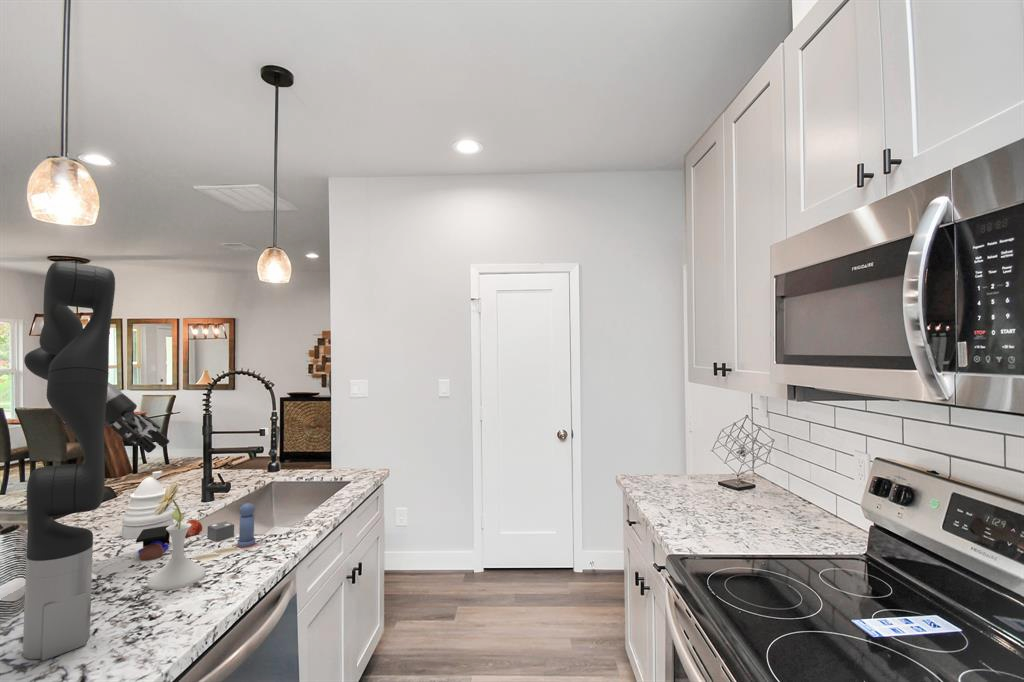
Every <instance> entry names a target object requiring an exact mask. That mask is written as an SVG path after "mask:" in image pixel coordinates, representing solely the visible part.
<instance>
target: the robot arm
mask: <svg viewBox="0 0 1024 682" xmlns="http://www.w3.org/2000/svg"><path fill="white" fill-rule="evenodd" d="M43 287H44V288H43V310H42V311H43V325H42V329H41V331H40V336H39V345H40V347H38V348H35V349H33V350H31V351H29V352H28V353H27V354H25V355H24V359H23V361H24V365H25V367H26V368H27V370H29V371H30V372H31V373H32V374H33V375H35V376H37V377H39V378H41V379H43V380H46V381H47V385H46V399H47V402H48V403H49V405H50V407H51V409H52V410H53V411H54V412H55V414H56V415H57V417H59V418H60V420H61V421H62V422H63V423H64V424H65V426H67V428H68V429H69V430H70V431H71V433H72V434H73V436H74V437H75V439H76V441H77V442H78V444H79V446H80V447H81V451H82V455H83V462H80V463H78V462H77V463H68V464H58V465H57V464H56V465H48V466H47V465H45V466H40V467H37V468H35V469H33V470H32V472H31V473H30V475H29V476H28V480H27V485H26V521H27V531H26V532H27V535H26V537H27V539H26V557H25V558H26V562H25V581H24V582H25V583H24V607H23V609H24V610H23V611H24V612H23V630H22V631H23V637H22V638H23V639H22V640H23V641H22V642H23V643H22V657H24V658H25V659H29V660H41V661H47V660H48V659H52V658H54V657H57V656H60V655H62V654H64V653H65V654H66V653H67V652H70V651H72V650H75V649H78V648H81V647H83V646H86V645H87V644H88V643H87V641H88V640H89V639H90V637H91V635H90V634H91V617H92V615H91V612H92V611H91V608H92V578H93V554H94V553H93V552H94V551H93V549H94V534H93V531H92V530H91V529H88V528H86V527H85V528H84V527H78V526H73V525H68V524H67V525H66V524H63V523H60V522H58V521H57V520H55V519H54V518H53V517H57V516H64V515H71V514H76V513H77V514H79V513H86V512H91V511H95V510H97V509H99V508H100V506H101V505H102V503H103V500H104V497H105V496H104V495H105V489H106V488H105V486H106V485H105V484H106V475H105V473H106V471H105V467H106V464H105V425H106V426H107V427H110V428H111V429H112V430H113V431H115V433H116V434H118V435H119V437H121V438H122V439H123V440H124V441H126V442H127V443H128V444H131V443H133V444H137V445H138V446H139V447H140V448H141V449H142V450H144V451H145V452H147V454H149V453H152V452H153V451H154V450H155V449H156V448H157V445H156V444H158V445H159V446H160V447H161V448H164V447H166V446H167V445H168V444H169V443H170V440H169V439H168V438H167V437H166V436H165V435H164V434H162V433H161V432H160V430H161V426H160V425H158V424H157V423H155V421H153V420H152V419H151V418H149V416H148V415H146V413H141V414H140V415H138V414H136V413H135V410H137V404H136V403H135V402H134V400H132V399H130V397H128V396H127V395H126V394H124V393H123V392H122V391H121V390H120V389H119V388H118V387H116V386H115V385H114V384H112V383H110V382H109V373H110V372H109V368H110V367H109V365H110V363H109V362H110V361H109V360H110V359H109V358H110V357H109V356H110V355H109V354H110V353H109V352H110V349H109V348H110V346H109V344H110V331H111V322H112V318H113V317H112V316H113V309H114V300H115V291H116V278H115V274H114V271H113V270H111V269H110V268H108V267H107V268H106V267H104V266H98V265H91V264H90V265H89V264H85V263H76V262H73V261H72V262H71V261H59V260H58V261H55V262H52V264H50V265H49V267H48V270H47V272H46V275H45V281H44V286H43ZM70 307H74V308H84V309H92V315H91V317H90V319H89V320H88V321H87V323H86V325H85V326H84V324H83V323H82V320H81V318H79V315H77V314H76V313H75V312H74V311H73V310H72V309H70ZM148 437H149V438H151V440H153V441H154V442H155V443H156V444H155V443H154V442H153V441H151V440H150V439H149V438H148Z"/></svg>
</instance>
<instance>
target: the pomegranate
mask: <svg viewBox="0 0 1024 682" xmlns="http://www.w3.org/2000/svg"><path fill="white" fill-rule="evenodd" d="M185 523H190V524H191V527H190V528H189V529H188V531H187V533H186V536H185V539H188V538H191V537H196V536H198V535H200V533H201V532H202V531H203V525H202V523H201V522H200V521H198V519H190V520H187V522H185Z"/></svg>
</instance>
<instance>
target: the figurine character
mask: <svg viewBox="0 0 1024 682" xmlns="http://www.w3.org/2000/svg"><path fill="white" fill-rule="evenodd" d="M167 527H169V525H168V526H162V527H156V528H150V529H144V530H142V532H141V533H140V535H139V536H138V538H137V539H135V544H136V543H138V544H139V543H142V548H140V549H138V551H137V553H139V554H138V555H139V559H140V561H142V562H143V561H145V562H146V561H152V560H156V559H159V558H161V557H162V556H163V555H164V552H165V551H166V549H169V547H170V545H169V544H170V538H171V535H170V533H169V532H168V531H167V530H166V528H167Z"/></svg>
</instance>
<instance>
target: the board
mask: <svg viewBox="0 0 1024 682" xmlns="http://www.w3.org/2000/svg"><path fill="white" fill-rule="evenodd" d="M237 544H238V542H237V543H234V544H232V545H227V546H224V547H221V548H217V549H215V550H213V551H208V552H205V553H200V554H198V555H195V556H191V558H192V559H194V560H196V561H199V562H201V563H202V564H204V563H208V562H211V561H215V560H217V559H220V558H223V557H227V556H230V555H233V554H236V553H240V552H242V551H246V550H249V549H253V548H256V547H258V546H261V544H260V543H258V542H256V541H255V545H253V546H251V547H247V548H239V547H237Z"/></svg>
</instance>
